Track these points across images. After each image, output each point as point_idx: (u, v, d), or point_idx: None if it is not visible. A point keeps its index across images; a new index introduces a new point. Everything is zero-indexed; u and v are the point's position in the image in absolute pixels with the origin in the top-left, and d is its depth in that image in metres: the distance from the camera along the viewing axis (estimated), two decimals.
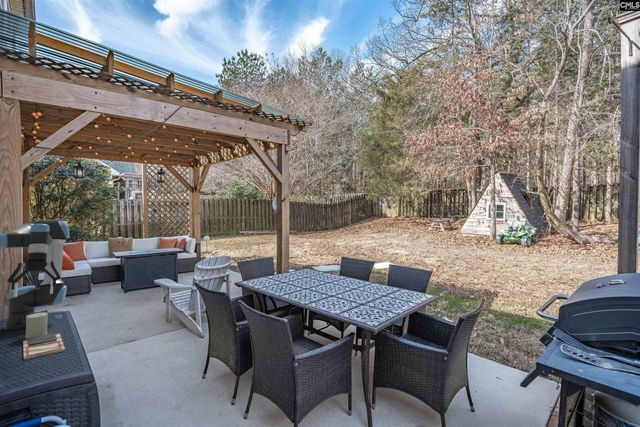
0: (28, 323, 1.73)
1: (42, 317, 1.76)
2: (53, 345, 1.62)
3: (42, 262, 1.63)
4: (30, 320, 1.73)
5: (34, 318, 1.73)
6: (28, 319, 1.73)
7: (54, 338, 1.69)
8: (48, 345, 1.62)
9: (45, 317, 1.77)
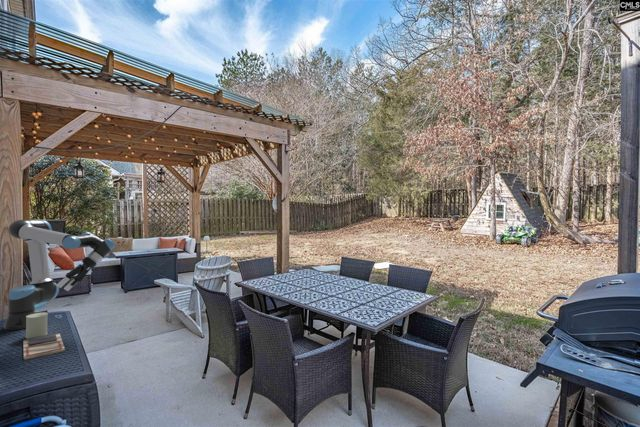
0: (28, 323, 1.73)
1: (42, 317, 1.76)
2: (53, 345, 1.62)
3: None
4: (30, 320, 1.73)
5: (34, 318, 1.73)
6: (28, 319, 1.73)
7: (54, 338, 1.69)
8: (48, 345, 1.62)
9: (45, 317, 1.77)
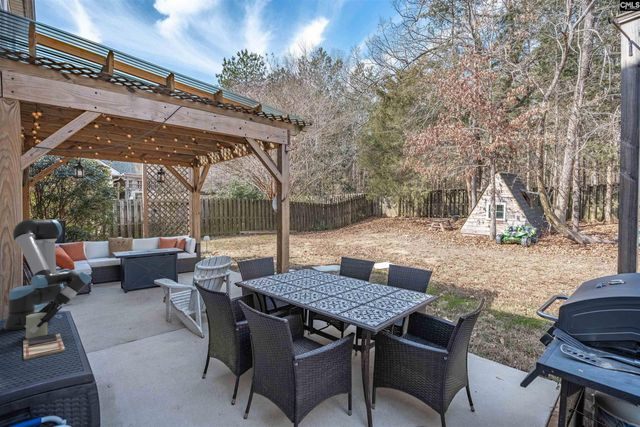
0: (28, 323, 1.73)
1: (42, 317, 1.76)
2: (53, 345, 1.62)
3: None
4: (30, 320, 1.73)
5: (34, 318, 1.73)
6: (28, 319, 1.73)
7: (54, 338, 1.69)
8: (48, 345, 1.62)
9: None
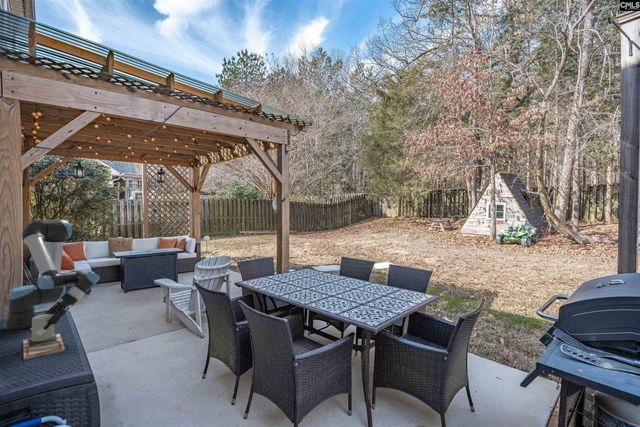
0: (34, 325, 1.64)
1: (49, 319, 1.67)
2: (53, 345, 1.62)
3: None
4: (36, 322, 1.64)
5: (40, 320, 1.64)
6: (34, 321, 1.64)
7: (54, 338, 1.69)
8: (48, 345, 1.62)
9: None
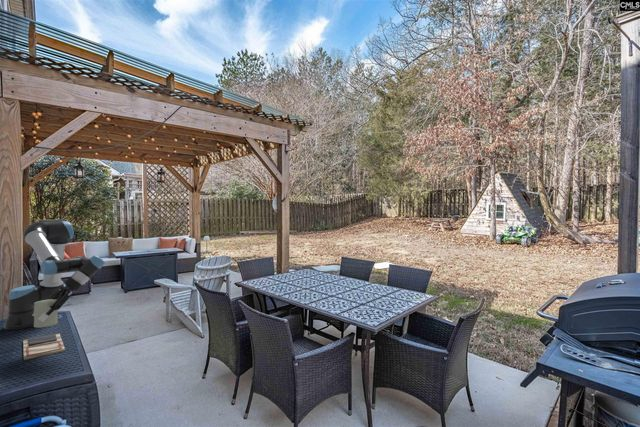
0: (37, 310, 1.55)
1: (52, 304, 1.58)
2: (53, 345, 1.62)
3: None
4: (39, 307, 1.55)
5: (43, 304, 1.56)
6: (36, 306, 1.55)
7: (54, 338, 1.69)
8: (48, 345, 1.62)
9: None
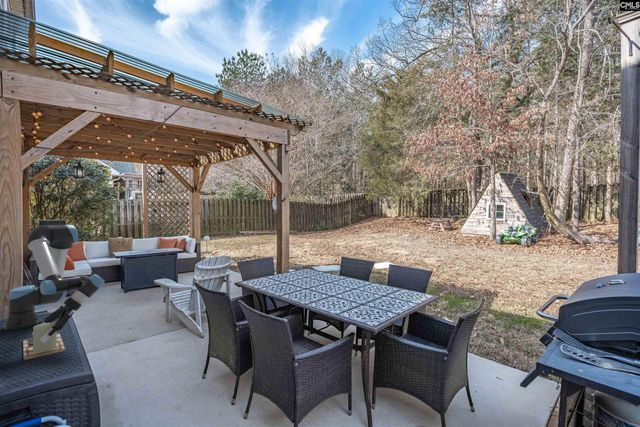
0: (35, 335, 1.54)
1: None
2: None
3: None
4: (38, 331, 1.54)
5: (42, 329, 1.54)
6: (35, 330, 1.54)
7: None
8: None
9: None
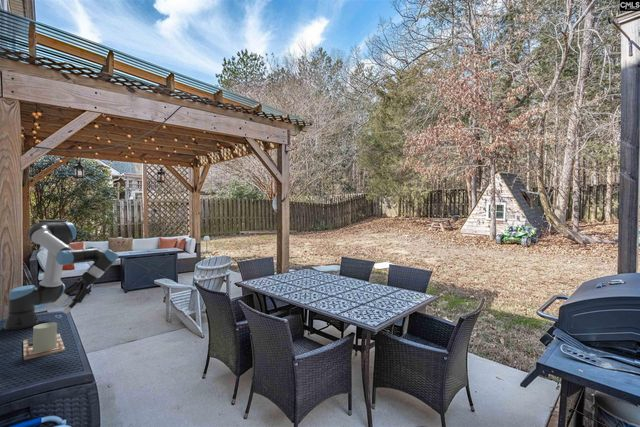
0: (35, 335, 1.54)
1: (51, 328, 1.57)
2: None
3: None
4: (38, 331, 1.54)
5: (42, 329, 1.54)
6: (35, 330, 1.54)
7: None
8: None
9: (54, 328, 1.59)
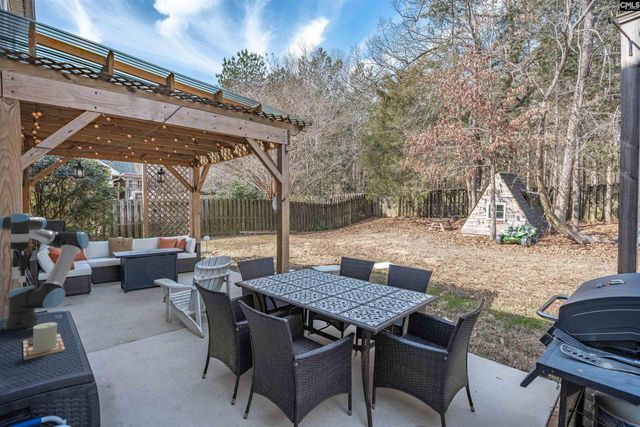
0: (35, 335, 1.54)
1: (51, 328, 1.57)
2: None
3: None
4: (38, 331, 1.54)
5: (42, 329, 1.54)
6: (35, 330, 1.54)
7: None
8: None
9: (54, 328, 1.59)
